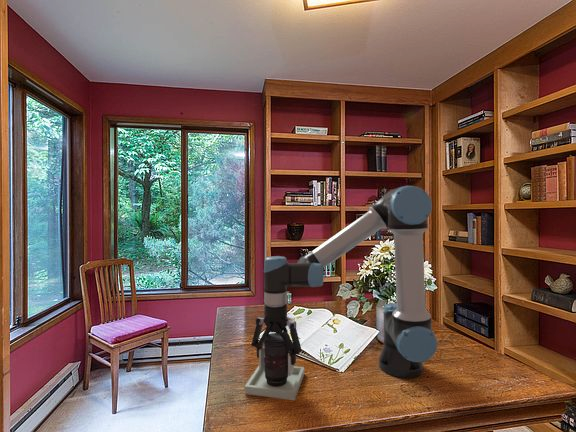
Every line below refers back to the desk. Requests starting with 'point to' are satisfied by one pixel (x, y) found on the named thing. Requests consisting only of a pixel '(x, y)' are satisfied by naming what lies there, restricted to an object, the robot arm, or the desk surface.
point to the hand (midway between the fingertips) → (276, 370)
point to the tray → (287, 391)
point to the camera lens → (275, 360)
